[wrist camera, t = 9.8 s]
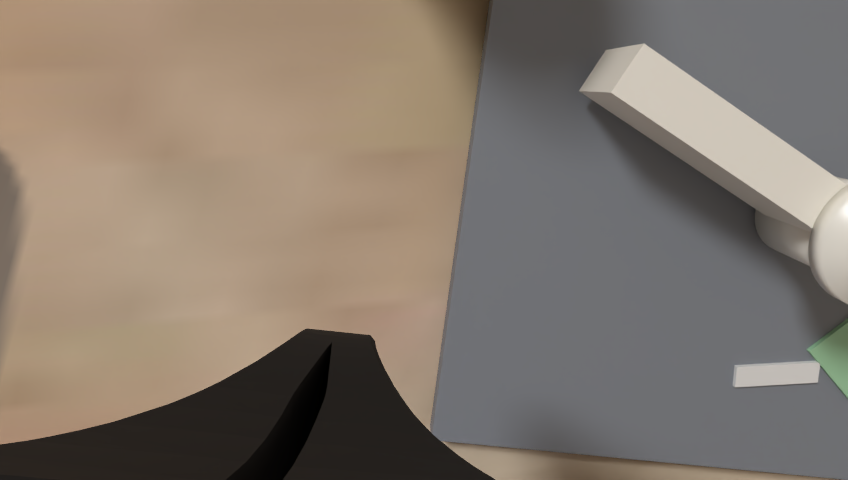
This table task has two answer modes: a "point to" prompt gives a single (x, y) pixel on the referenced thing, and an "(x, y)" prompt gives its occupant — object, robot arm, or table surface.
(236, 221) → the table surface
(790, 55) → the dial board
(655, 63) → the peg
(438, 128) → the table surface
